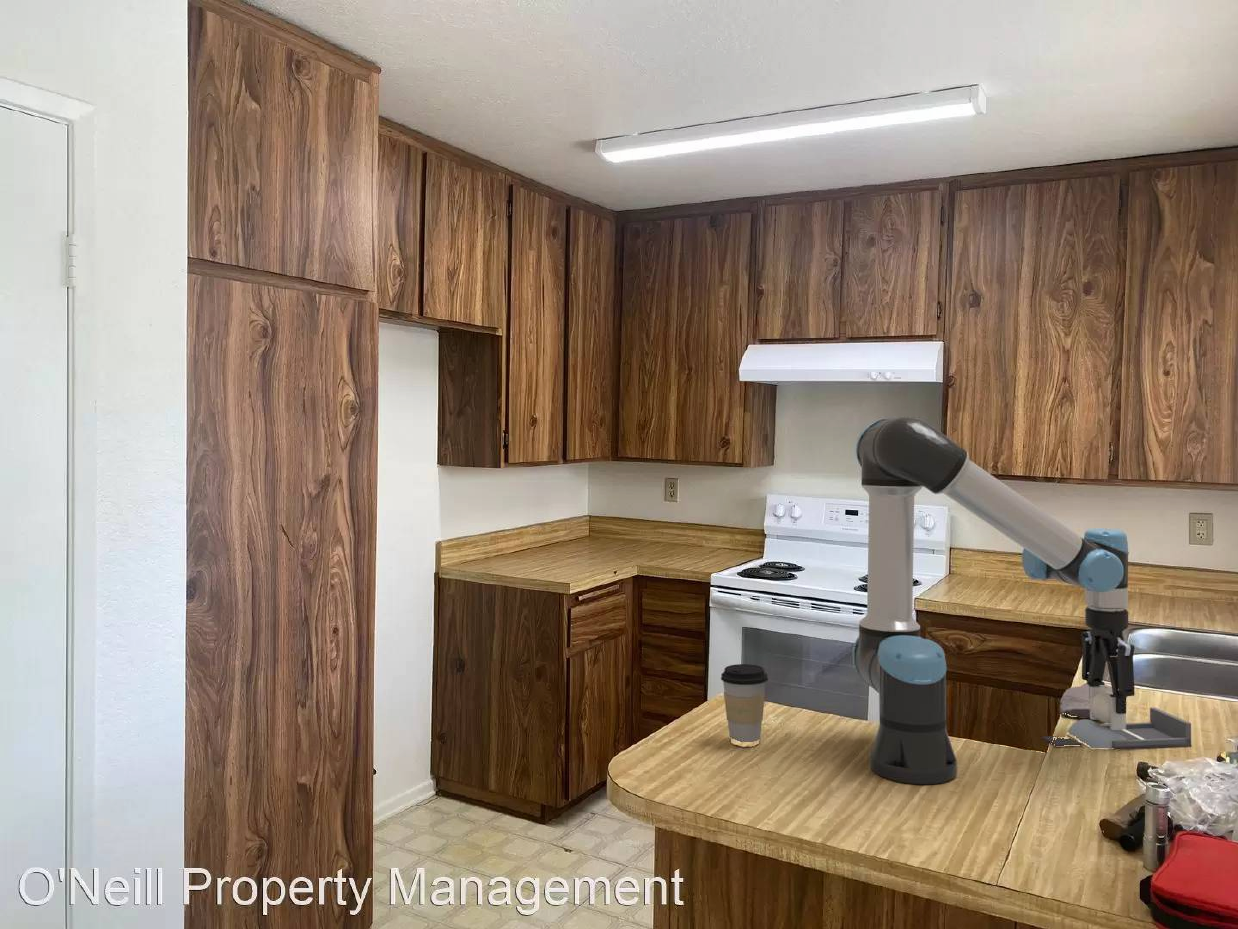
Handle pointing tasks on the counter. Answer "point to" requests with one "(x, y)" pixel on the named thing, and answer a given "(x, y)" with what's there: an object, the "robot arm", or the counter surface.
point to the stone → (1078, 701)
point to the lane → (1155, 732)
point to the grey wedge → (1094, 734)
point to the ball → (1101, 706)
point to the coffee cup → (744, 700)
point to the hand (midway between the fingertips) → (1107, 723)
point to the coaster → (1061, 741)
